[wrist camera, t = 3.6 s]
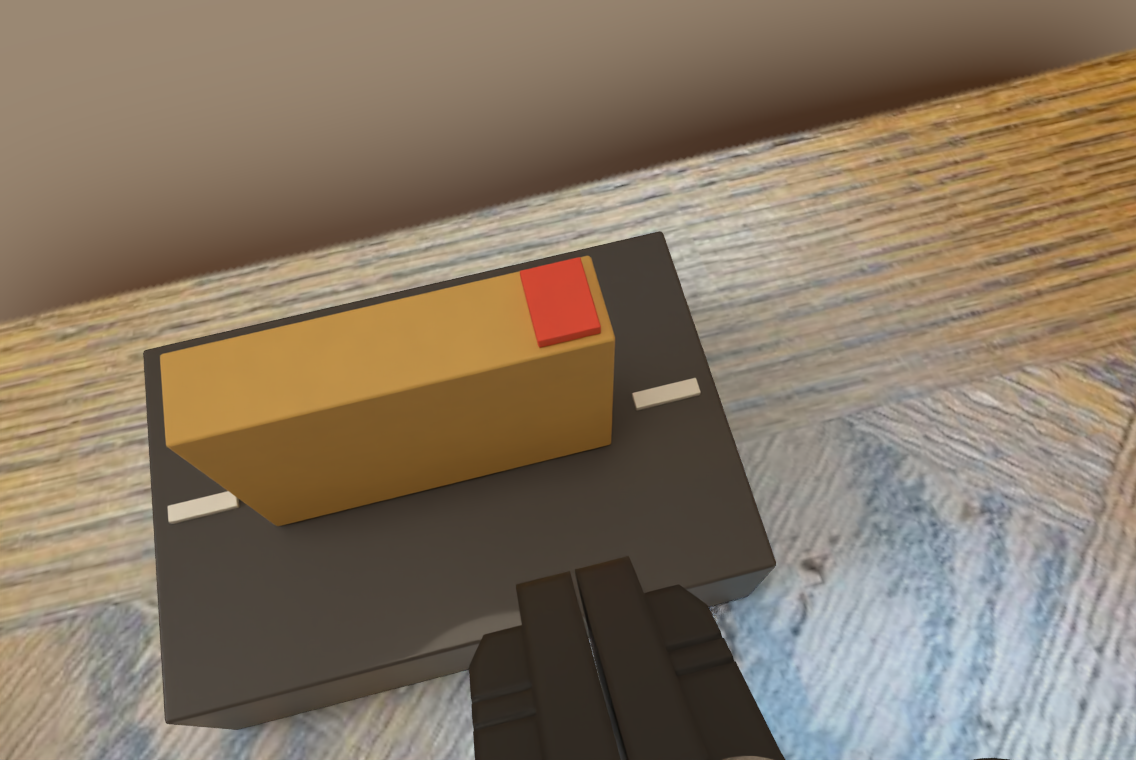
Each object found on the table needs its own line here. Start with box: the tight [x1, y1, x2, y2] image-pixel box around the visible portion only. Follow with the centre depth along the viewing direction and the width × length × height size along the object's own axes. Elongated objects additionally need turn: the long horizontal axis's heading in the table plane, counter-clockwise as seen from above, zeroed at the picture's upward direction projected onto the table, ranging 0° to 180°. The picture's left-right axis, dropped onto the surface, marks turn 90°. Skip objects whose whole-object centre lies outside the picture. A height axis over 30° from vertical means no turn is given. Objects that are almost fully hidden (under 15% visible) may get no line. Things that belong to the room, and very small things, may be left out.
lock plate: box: [143, 232, 776, 730], centre depth 20 cm, size 12×8×4 cm, turn 104°
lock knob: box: [160, 256, 615, 526], centre depth 16 cm, size 7×2×5 cm, turn 104°
